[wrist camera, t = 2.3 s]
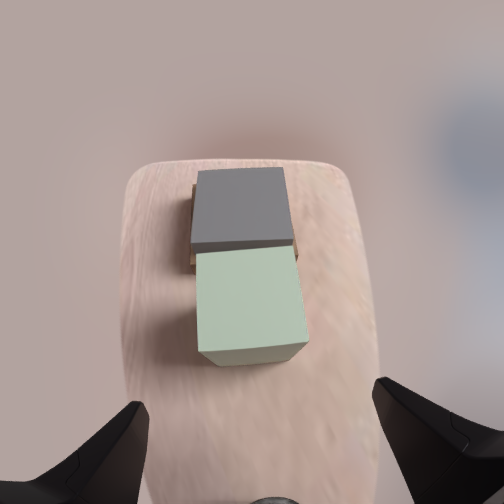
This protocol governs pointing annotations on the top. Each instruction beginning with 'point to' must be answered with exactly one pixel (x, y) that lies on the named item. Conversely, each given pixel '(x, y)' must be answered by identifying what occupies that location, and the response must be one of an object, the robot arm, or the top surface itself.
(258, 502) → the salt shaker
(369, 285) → the top surface
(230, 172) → the charcoal top slab
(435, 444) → the robot arm
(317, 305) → the top surface
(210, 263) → the sage green block
